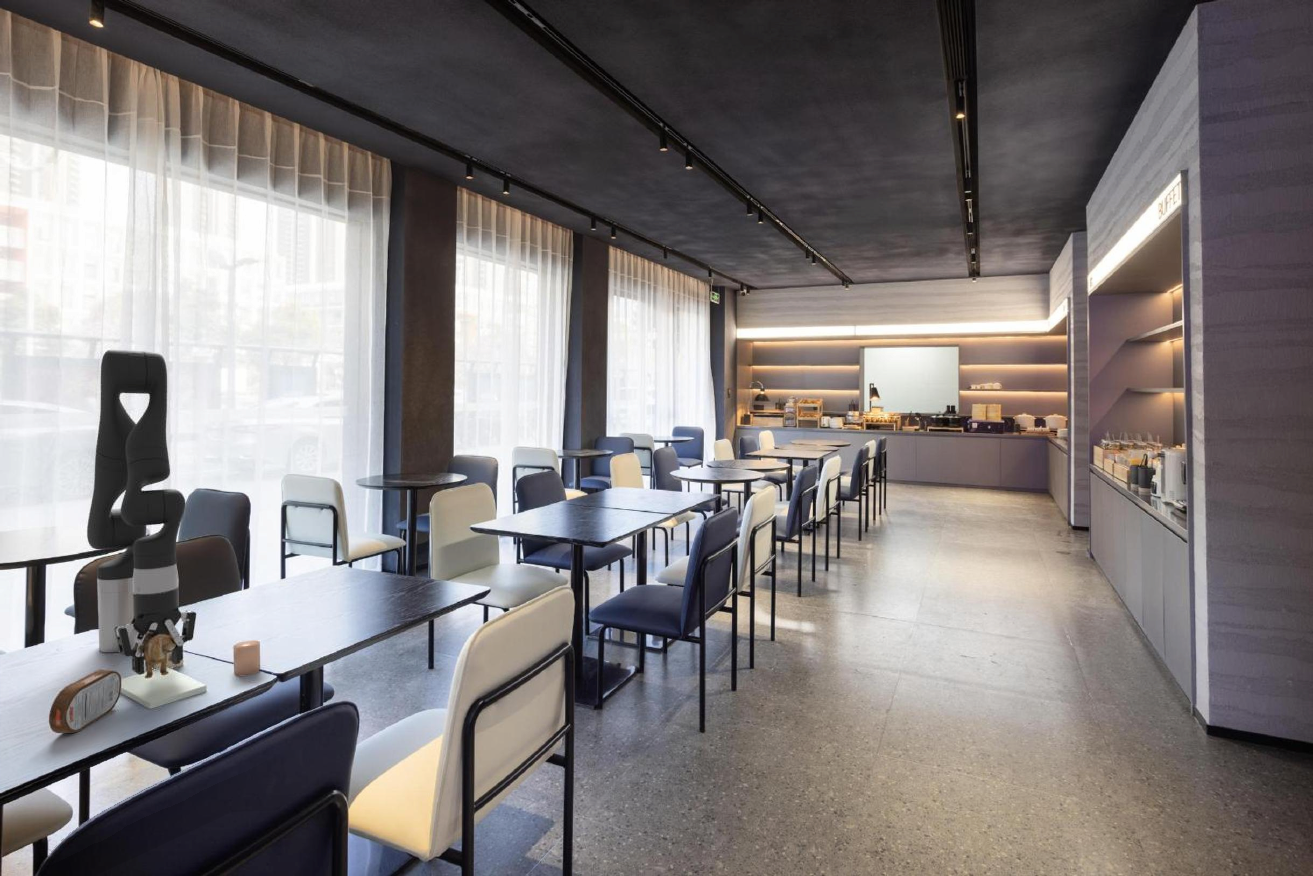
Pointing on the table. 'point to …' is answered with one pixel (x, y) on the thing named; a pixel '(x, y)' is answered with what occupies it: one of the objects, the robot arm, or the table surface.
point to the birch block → (168, 664)
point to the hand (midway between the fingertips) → (158, 668)
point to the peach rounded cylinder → (246, 657)
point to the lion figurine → (157, 653)
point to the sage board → (160, 687)
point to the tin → (85, 701)
